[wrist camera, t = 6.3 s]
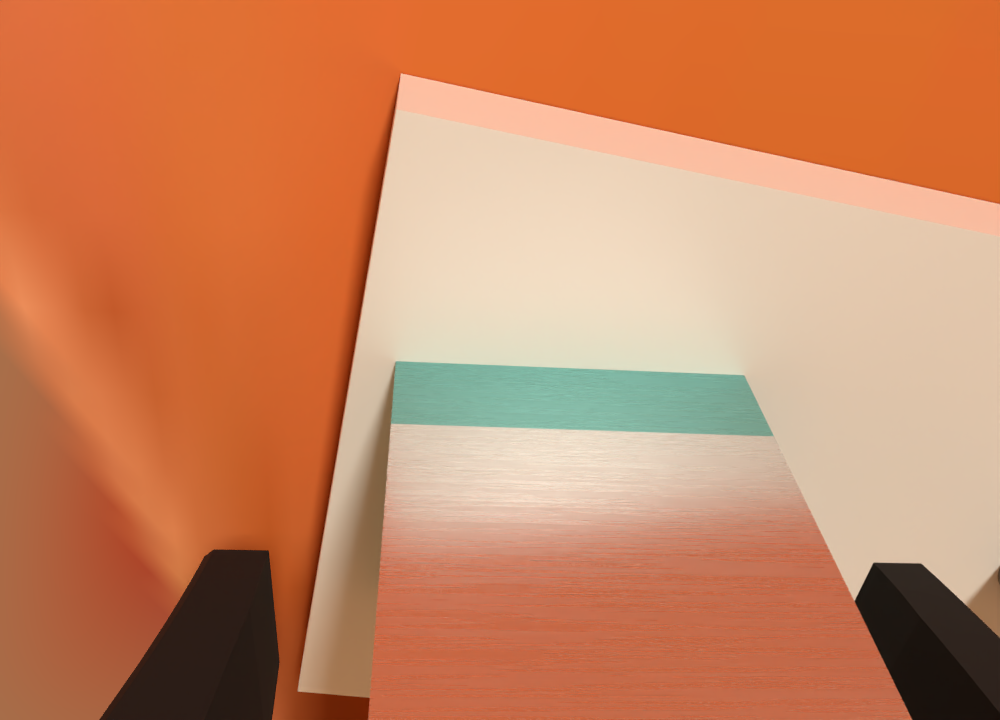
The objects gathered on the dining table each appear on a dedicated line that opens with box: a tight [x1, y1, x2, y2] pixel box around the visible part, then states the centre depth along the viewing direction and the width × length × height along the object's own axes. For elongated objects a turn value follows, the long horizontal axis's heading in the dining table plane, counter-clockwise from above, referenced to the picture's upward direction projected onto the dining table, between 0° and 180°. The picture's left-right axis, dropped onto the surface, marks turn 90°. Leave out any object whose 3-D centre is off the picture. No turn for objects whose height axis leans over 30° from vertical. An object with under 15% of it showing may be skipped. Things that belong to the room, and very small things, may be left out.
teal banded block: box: [368, 361, 912, 720], centre depth 9 cm, size 4×4×6 cm
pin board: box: [298, 74, 1000, 698], centre depth 12 cm, size 14×10×4 cm
